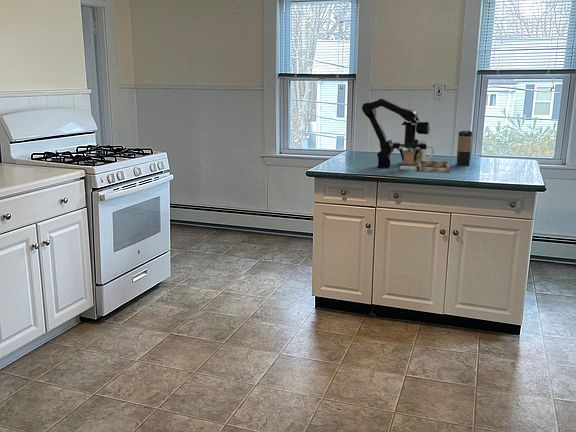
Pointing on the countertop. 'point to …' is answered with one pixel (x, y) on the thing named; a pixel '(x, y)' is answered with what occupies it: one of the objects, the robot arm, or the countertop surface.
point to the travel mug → (464, 148)
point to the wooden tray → (433, 166)
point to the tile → (408, 168)
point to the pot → (408, 156)
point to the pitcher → (422, 153)
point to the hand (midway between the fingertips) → (408, 161)
